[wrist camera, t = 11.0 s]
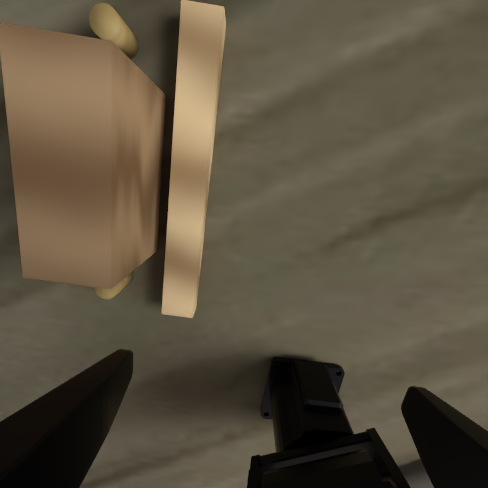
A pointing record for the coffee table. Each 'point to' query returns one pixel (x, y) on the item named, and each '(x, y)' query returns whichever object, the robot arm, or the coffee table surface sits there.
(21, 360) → the coffee table surface
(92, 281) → the thick tan wooden block
